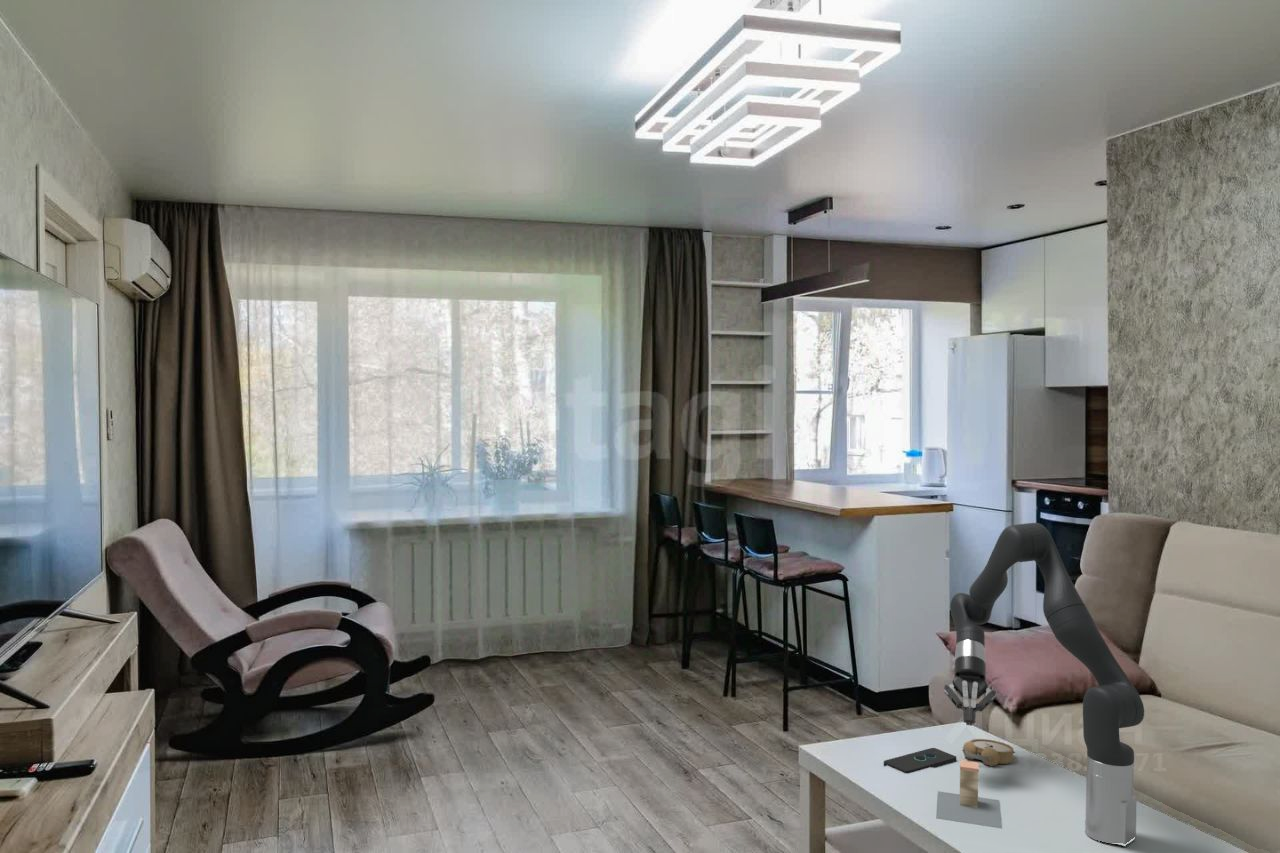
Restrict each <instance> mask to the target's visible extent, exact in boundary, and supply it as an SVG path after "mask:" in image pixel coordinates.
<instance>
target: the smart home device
mask: <svg viewBox="0 0 1280 853" xmlns="http://www.w3.org/2000/svg"><path fill="white" fill-rule="evenodd" d="M956 762H957V756H956V755H953V754H952V753H949V752H946V751H944V750H941V749H938V748H936V747H930V748H927V749H923V750H918V751H916V752H912V753H908V754H904V755H901V756H897V757H893V758H889V759H886V760H883V767H885V766H886V767H889V768H892V769H894V770H897V771H899V772H901V773H903V774H910V773H914V772H919V771H922V770H925V769H929V768H933V769H935V768H939V767H942V766H945V765H948V764H952V763H956Z"/></svg>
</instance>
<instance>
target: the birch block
mask: <svg viewBox="0 0 1280 853" xmlns="http://www.w3.org/2000/svg"><path fill="white" fill-rule="evenodd" d="M979 769H980V768H979V762H974V761H967V760H959V794H960V805H963V806H970V807H976V808H978V797H979V773H980V770H979Z"/></svg>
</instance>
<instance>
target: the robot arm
mask: <svg viewBox="0 0 1280 853" xmlns="http://www.w3.org/2000/svg"><path fill="white" fill-rule="evenodd" d="M999 534H1000V535H999V536H998V538H997V540H996V543H995V546H993V549H992V551H991V554H990V556H989V558H988V560H987V563H986V565H985V566H984V568H983V569H982V571H981V572H980V574H979V575H977V578H976V579H974V582H972V584H971V586H970V587H969V590H968V591H969V592H968V593H969V594H968V593H964V592H958V593H956V594H954V595H953V596H952V599H951V600H950V605H949V608H950V615H951V618H952V621H953V624H954V629H955V632H956V636H955V637H956V639H955V640H956V644H955V645H956V646H955V652H954V678H953V679H952V682H951V684H949V685H948V684H945V685H944V686H943V689H944V690H943V691H944V692H943V693H944V694H945V696H947V698H948V699H949V700H950V701H951V702H952V704H953V705H954V706H955V708H956V709H961V710H962V713H963V716H962V717H963V718H962V721H963V723H965V724H966V726H972V727H973V724H975V723H976V716H977V715H976V712H983V711H984V710H985V709H986V708H987V707H988V706H989V705H990V704H991V703H993V702H994V701H995V699H996V696H997V691H996V690H995V689H991V688H989V687H988V686H989V685H988V683H987V680H986V676H987V675H986V673H987V672H986V667H987V666H986V664H987V662H986V660H987V659H986V658H987V657H986V650H985V643H986V642H985V640H986V638H985V631H984V629H983V628H982V627H981V626H980V625H984V624H986V623H988V622H989V621H990V619H991V616H992V612H993V608H994V606H995V603H996V601H997V600H998V599H999V598H1000V596H1001V595H1003V593H1004V591H1005V590H1006V588H1007V585H1008V582H1009V580H1008V578H1009V577H1008V570H1009V569H1010V568H1011V567H1013V565H1015V564H1016V563H1027V562H1033V561H1034V562H1035V563H1036V564H1037V566H1038V568H1039V571H1040V572H1041V574H1042V577H1043V580H1044V590H1043V591H1044V592H1043V599H1042V601H1043V602H1042V603H1043V604H1042V610H1043V611H1042V612H1043V615H1044V618H1045V620H1046V621H1047V624H1048V625H1049V627H1050V629H1051V631H1052V634H1053V635H1054V637H1055V639H1056V640H1057V641H1058V642H1059V643H1060V645H1061V646H1063V647H1064V648H1065V650H1067V651H1068V652H1069V653H1070V654H1071V655H1073V657H1075V658H1076V659H1077V660H1078V661H1079V662H1081V663H1082V664H1083V665H1084V666H1085V667H1086V668H1087V669H1088V671H1089V672H1091V674H1092V676H1093V677H1094V679H1095V681H1096V682H1097V686H1092V687H1090V688H1089V689H1087V691H1086V692H1085V694H1084V696H1083V701H1082V727H1083V734H1082V735H1083V740H1084V744H1085V745H1086V752H1087V753H1086V777H1085V778H1086V780H1085V781H1086V782H1085V786H1086V787H1085V819H1084V820H1085V821H1084V823H1085V824H1084V828H1085V829H1084V832H1085V835H1087V836H1088V837H1089V838H1091V839H1093V840H1095V841H1097V840H1098V842H1100V841H1102V842H1107V843H1123V844H1126V843H1127V842H1129V841H1130V840H1131V839H1133V838H1134V837H1136V838H1137V833H1136V832H1137V803H1138V802H1137V801H1138V800H1137V799H1138V798H1137V795H1136V794H1135V795H1134V784H1135V783H1134V778H1135V776H1134V775H1135V751H1134V749H1133V747H1131V745H1128V744H1127V743H1124V742H1122V741H1121V740H1120V737H1121V736H1120V729H1123V728H1130V727H1135V726H1137V725H1140V724H1141V723H1142V722H1143V720H1144V718H1145V707H1144V703H1143V700H1142V697H1141V695H1140V694H1139V692H1138V690H1137V689H1136V687H1135V685H1134V684H1133V683H1132V681H1131V680H1130V679H1129V677H1128V675H1127V674H1126V673H1125V671H1124V670H1123V668H1122V667H1121V665H1120V664H1119V662H1118V660H1117V659H1116V658H1115V656H1114V655H1113V653H1112V651H1111V650H1110V647H1109V646H1108V644H1107V642H1106V641H1105V639H1104V638H1103V636H1102V634H1101V632H1100V631H1099V628H1098V627H1097V624H1096V622H1095V621H1094V619H1093V617H1092V615H1091V612H1090V611H1089V610H1088V608H1087V606H1086V604H1085V602H1084V600H1083V599H1082V597H1081V595H1080V594H1079V592H1078V590H1077V589H1076V587H1075V585H1074V583H1073V581H1072V579H1071V577H1070V575H1069V573H1068V571H1067V569H1066V567H1065V566H1066V565H1064V562H1063V560H1062V557H1061V555H1060V553H1059V550H1058V548H1057V545H1056V543H1055V541H1054V538H1053V537H1052V534H1051V533H1050V531H1049V530H1048V529H1047V528H1046V527H1045V526H1044V525H1043V524H1041V523H1039V522H1028V523H1027V522H1026V523H1019V524H1013V525H1009V526H1007V527H1004V528H1003V530H1002V532H1000V533H999ZM955 691H956V692H957V694H958V695H959V696H960V697H961V698H962V700H961V698H960V697H958V695H957V694H956V693H955ZM984 694H985V695H984ZM983 695H984V697H983V698H982V699H981V697H982V696H983ZM979 699H981V700H980V701H979V702H978V700H979ZM969 700H971V701H970V704H969ZM977 702H978V703H977ZM1102 842H1101V843H1102Z"/></svg>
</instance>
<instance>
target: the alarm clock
mask: <svg viewBox="0 0 1280 853" xmlns="http://www.w3.org/2000/svg"><path fill="white" fill-rule="evenodd" d="M961 751H962V752H963V755H964V757H966V758H967V760H971V761H972V760H974V759H975V760H979V761H982V763H983V764H985V765H986V766H988V765H990V766H989V767H994V766H997V765H998V764H1002V765H1004V764H1005V765H1007V764H1012V763H1013V762H1014V761H1013V760H1014V759H1013V758H1014V754H1015V753H1016V751H1014V748H1013V746H1011V745H1010V744H1007V743H1005V742H1000V741H997V740H994V739H993V740H992V739H988V738H987V739H986V738H973V739H970V740H969V741H967V742H965V743H964V744H963V747H962V750H961Z"/></svg>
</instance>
